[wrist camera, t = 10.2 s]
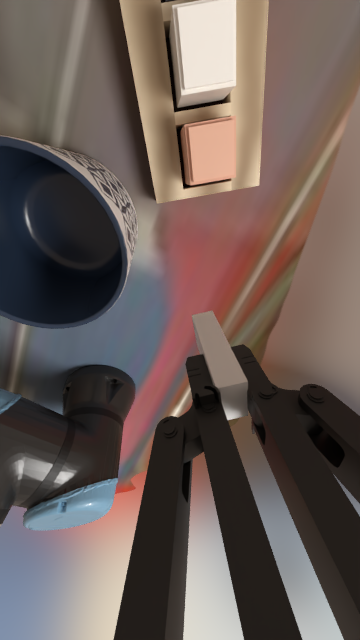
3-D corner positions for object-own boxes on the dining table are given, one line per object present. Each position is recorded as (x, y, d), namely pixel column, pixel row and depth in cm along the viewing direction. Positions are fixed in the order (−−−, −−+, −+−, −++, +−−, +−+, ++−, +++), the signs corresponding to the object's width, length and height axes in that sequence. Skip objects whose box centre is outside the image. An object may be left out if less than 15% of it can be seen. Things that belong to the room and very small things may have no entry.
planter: (159, 206, 30) (162, 227, 18) (109, 293, 37) (87, 350, 25) (36, 115, 24) (-78, 60, 12) (3, 239, 31) (-93, 281, 19)
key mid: (177, 107, 23) (181, 94, 19) (169, 36, 21) (172, 1, 17) (222, 99, 23) (237, 84, 19) (221, 26, 21) (237, -10, 16)
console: (156, 201, 30) (156, 203, 27) (99, -109, 17) (90, -156, 15) (250, 184, 30) (259, 185, 27) (260, -139, 17) (278, -190, 15)
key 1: (185, 183, 27) (191, 185, 23) (179, 132, 25) (184, 123, 20) (224, 176, 27) (237, 177, 23) (223, 124, 25) (237, 114, 20)
